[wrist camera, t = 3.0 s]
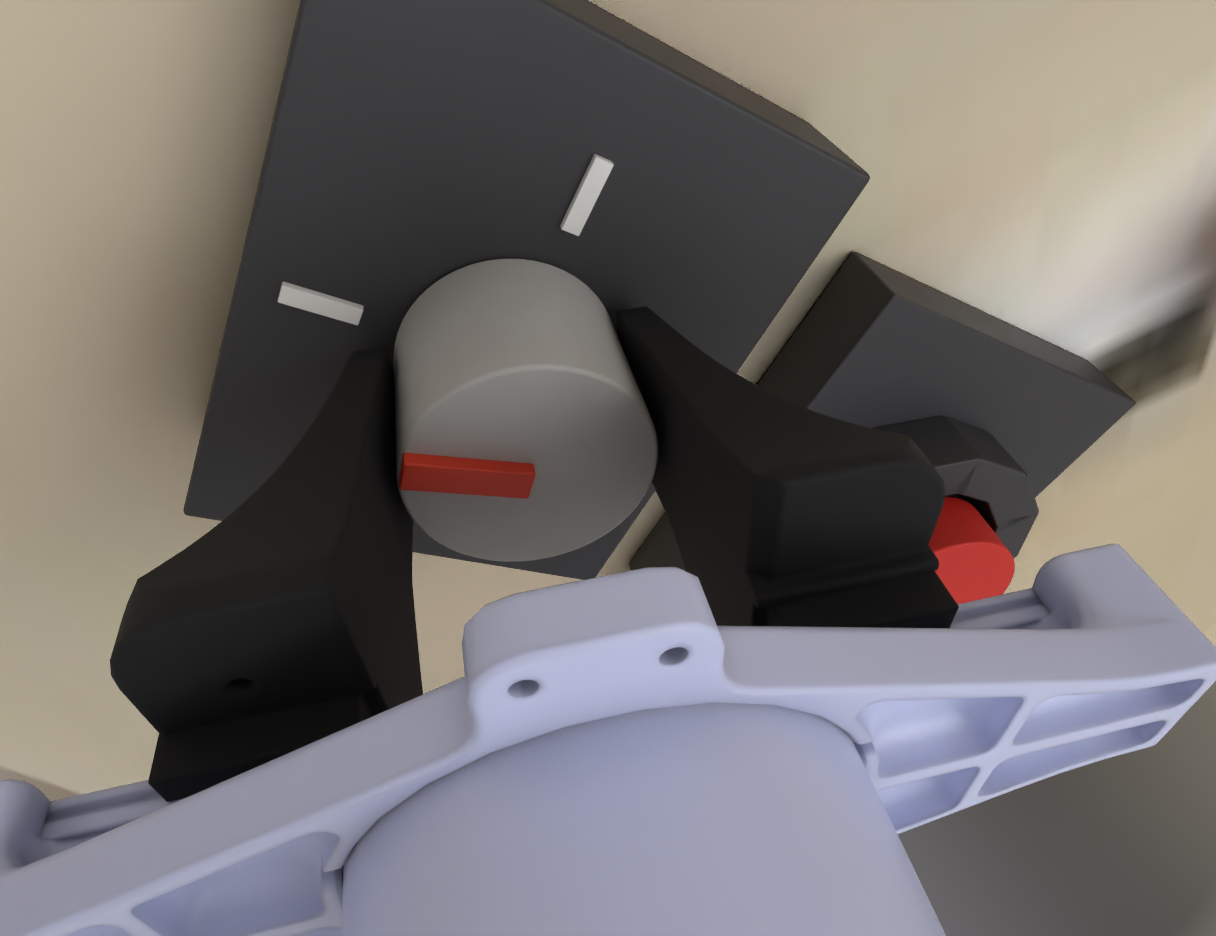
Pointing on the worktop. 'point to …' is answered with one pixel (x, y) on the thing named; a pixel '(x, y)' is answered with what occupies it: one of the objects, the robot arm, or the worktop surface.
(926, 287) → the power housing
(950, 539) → the power button
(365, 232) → the timer panel
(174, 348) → the worktop surface
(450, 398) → the timer dial
